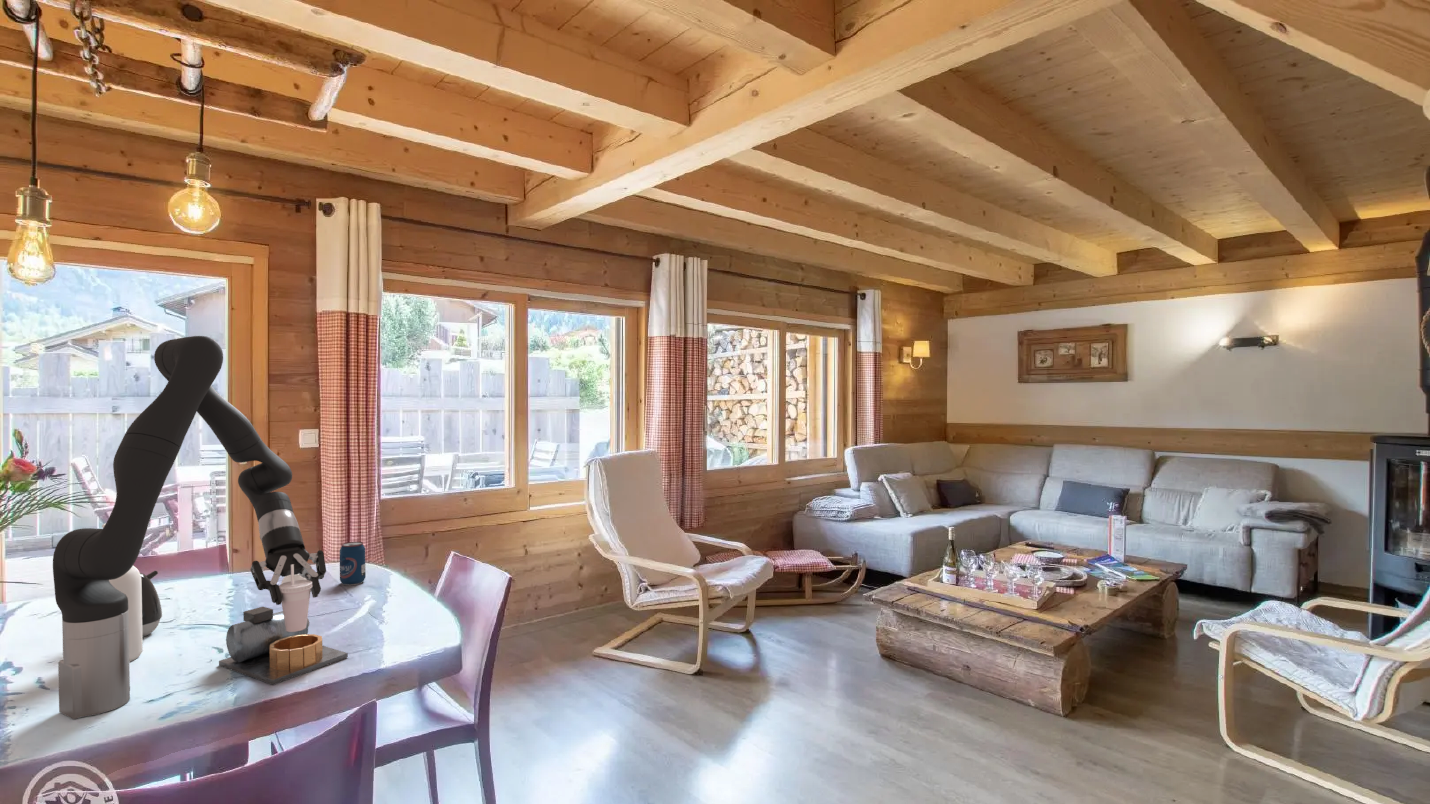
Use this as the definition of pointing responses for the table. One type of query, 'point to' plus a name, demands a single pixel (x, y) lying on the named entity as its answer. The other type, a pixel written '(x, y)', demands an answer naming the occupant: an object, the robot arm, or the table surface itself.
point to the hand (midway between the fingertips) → (298, 598)
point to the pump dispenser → (150, 604)
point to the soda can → (352, 563)
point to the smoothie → (295, 602)
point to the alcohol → (132, 608)
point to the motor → (274, 648)
